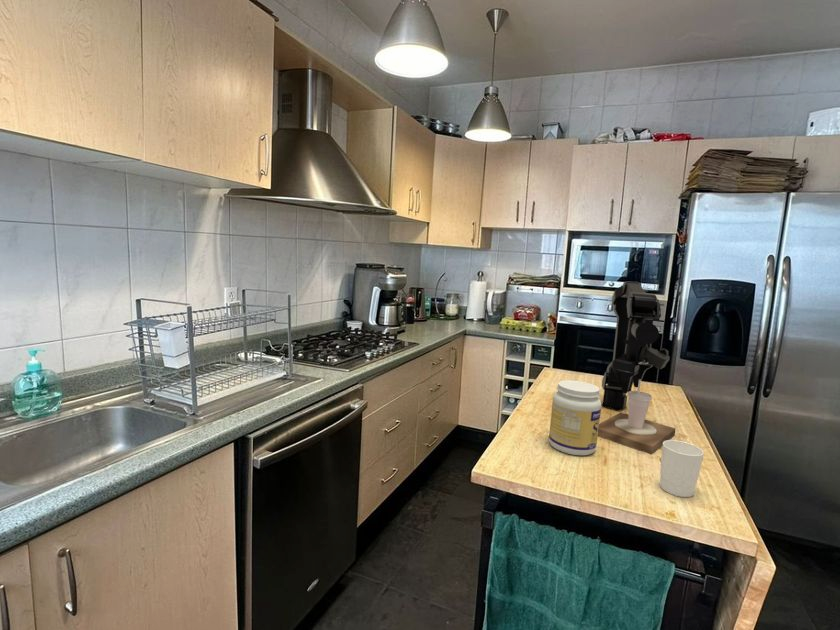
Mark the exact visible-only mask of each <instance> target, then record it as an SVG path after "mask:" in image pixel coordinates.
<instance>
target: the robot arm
mask: <svg viewBox="0 0 840 630" xmlns="http://www.w3.org/2000/svg"><path fill="white" fill-rule="evenodd" d="M611 298H612V299H611V305H612V311H613V312H614V314H615V316H616V326H615V327H616V328H615V336H614V345H613V356H612V361H611V362H610V363H609V364H608V365H607V366H606V367H607V368H606V371H605V372H604V374H603V377H602V379H601V388H602V390H604V391H603V398H602V402H601V407H604V408H606V409H609V410H614V411H617V412H621V411H622V410H624V409H626V408H627V402H628V396H627V394H628V392H629V391H632V387H634V388H638V383H639V379H641V381H642V380H643V378H644V375H645V374H646V371H647V370H648V369H650V368H652V367H654V368H656V369H658V370H662V369H663V368H666V365H667V363H668V362H669V361H670V356H669V350H668V349H666V348H661V349H660V350H658V349H655V348H652V344H653V343H655V342H657V340H658V339H659V336H660V331H659V328H658V327H657V326H656V325H655V324H654V321H656V322H660V319H661V318H662V311H661V310H662V309H661V303H660V300H659V298H658V297H657V296H656V294H653V293H650V292H649V293H647V292H646V291H645V290H644V287H642V282H639V281H627V280H626V281H624V282H623V284H622V285H620V286H619V287H617V288H615V290H614V292H613V294H612V297H611Z"/></svg>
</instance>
